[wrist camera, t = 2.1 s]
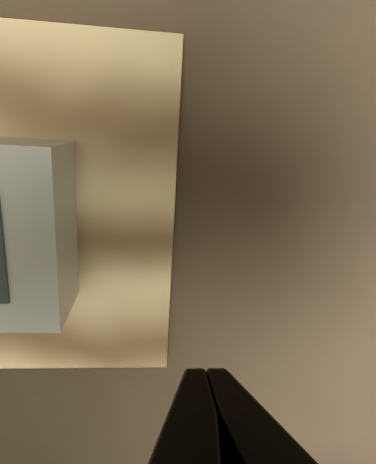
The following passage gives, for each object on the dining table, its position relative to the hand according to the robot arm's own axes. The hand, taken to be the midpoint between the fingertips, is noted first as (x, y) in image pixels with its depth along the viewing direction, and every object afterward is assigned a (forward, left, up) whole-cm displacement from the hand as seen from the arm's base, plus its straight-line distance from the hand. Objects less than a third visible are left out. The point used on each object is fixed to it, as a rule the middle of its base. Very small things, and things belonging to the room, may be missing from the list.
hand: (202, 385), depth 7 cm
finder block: (0, +8, -12) cm, 14 cm away
